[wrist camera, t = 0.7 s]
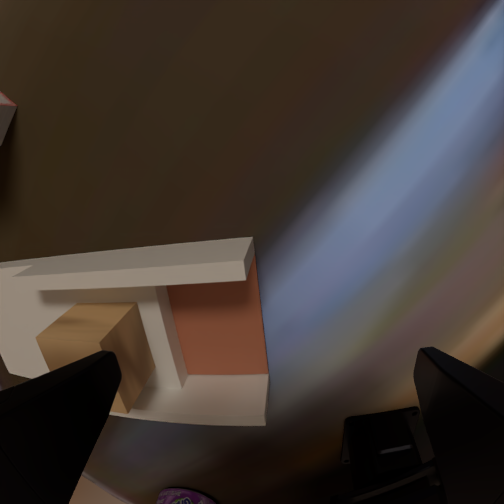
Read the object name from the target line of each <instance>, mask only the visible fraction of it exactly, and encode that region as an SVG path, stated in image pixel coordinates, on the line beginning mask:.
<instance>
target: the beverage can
mask: <svg viewBox="0 0 504 504" xmlns="http://www.w3.org/2000/svg"><path fill="white" fill-rule="evenodd" d="M156 504H216V503H215V502H214V501H213V500H211V499H210V498H208V497H206V496H205V495H203V494H201V493H199V492H196V491H193V490H189V489H183V488H169V489H164V490H162V491H161V492H160V494H159V497H158V500H157V502H156Z"/></svg>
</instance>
